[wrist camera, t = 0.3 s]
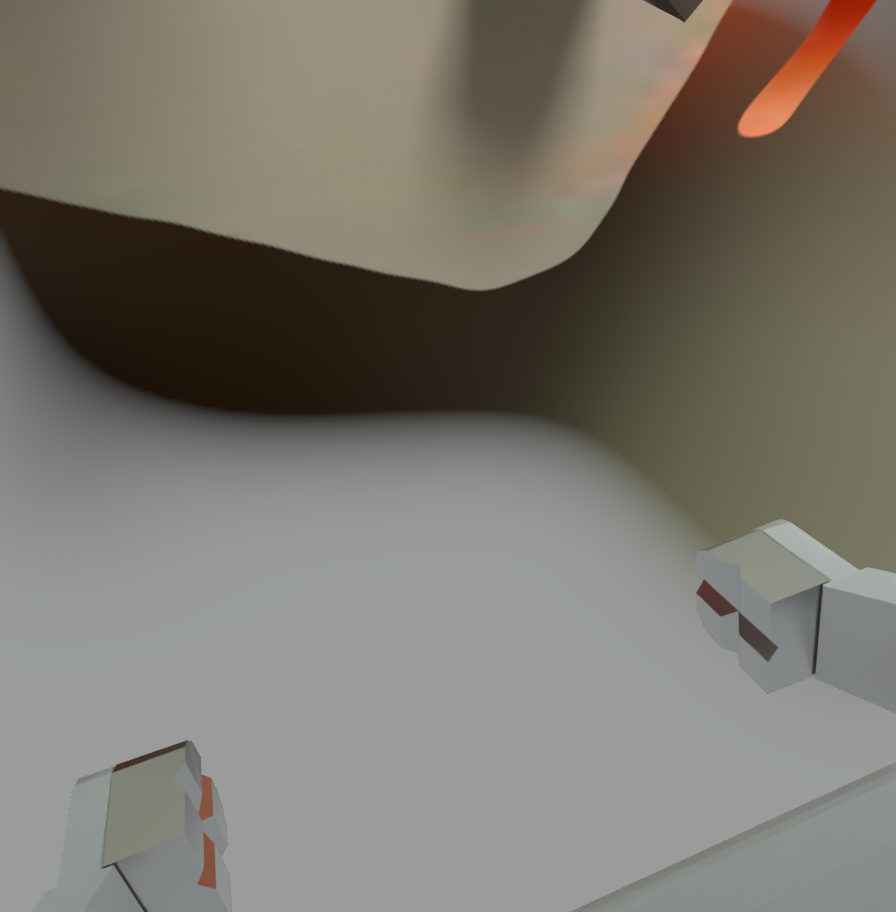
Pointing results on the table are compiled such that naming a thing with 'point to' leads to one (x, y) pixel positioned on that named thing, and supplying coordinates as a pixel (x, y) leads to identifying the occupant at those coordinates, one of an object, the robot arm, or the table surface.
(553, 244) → the table surface
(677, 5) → the coffee box
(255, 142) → the table surface
